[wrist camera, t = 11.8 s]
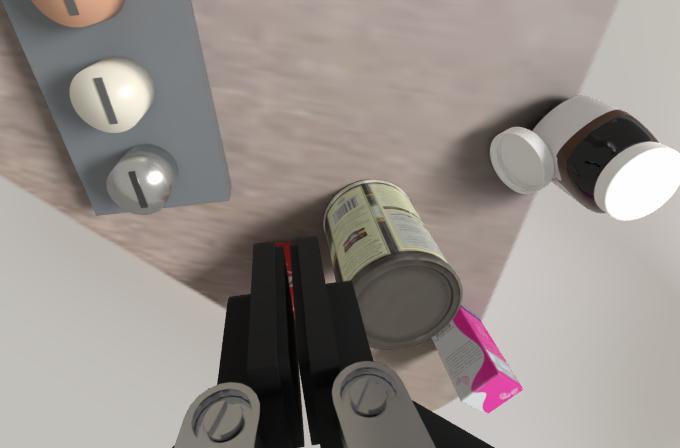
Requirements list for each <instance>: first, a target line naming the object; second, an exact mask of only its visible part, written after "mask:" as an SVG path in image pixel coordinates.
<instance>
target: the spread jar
mask: <svg viewBox="0 0 680 448" xmlns="http://www.w3.org/2000/svg"><path fill="white" fill-rule="evenodd" d="M490 158H491V162H492V165H493V167H494V170H495V171H496V173H497V175H498V176H499V178H500V179H501V180H502V181H503V182H504V183H505V184H506V185H507V186H508V187H509V188H511V189H512V190H514V191H516V192H518V193H521V194H533V193H536V192H537V191H539V190H540V189H542V188H543V187H545V186H547V185H548V184H549V183H550V182H551V181H552V182H553V183H554V184H555V185H557V186H558V187H559V188H560V189H562V190H563V191H564V192H566V193H567V194H568V195H569V196H571V197H572V198H574V199H575V200H576V201H577V202H579V203H580V204H581V205H583V206H584V207H586V208H587V209H589V210H591V211H593V212H596V213H607V214H608V215H609V216H611V217H613V218H614V219H618V220H621V221H628V220H635V219H638V218H642V217H644V216H646V215H648V214H650V213H652V212H653V211H655V210H657V209H658V208H659V207H661V206H662V205H663V204H664V203H665V202H666V201H667V200H668V199H669V198H670V197H671V196H672V195H673V193H674V192H675V191H676V189H677V188H678V186H679V184H680V153H678V152H677V151H676V150H674V149H672V148H670V147H667V146H665V145H663V144H660V143H659V142H658V141H657V139H656V138H655V137H654V136H653V134H652V133H651V132H650V131H649V130H648V129H647V128H645V127H644V125H642V124H641V123H640V122H639V121H638V120H637V119H635V118H634V117H633V116H631V115H629V114H628V113H627V112H625V111H623V110H621V109H618V108H616V107H614V106H612V105H609V104H607V103H604V102H602V101H599V100H597V99H594V98H591V97H588V96H581V95H580V96H575V97H572V98H570V99H567V100H565V101H563V102H562V103H560V104H558V105H557V106H555V107H554V108H552V109H551V110H550V111H548V112H547V113H546V114H545V115H544V116H543V117H542V118H541V119H540V120H539V121H538V122H537V123H536V124H535V126H534V127H533V129H532V130H531V131H530V130H528V129H526V128H522V127H512V128H509V129H507V130H506V131H504V132H502V133H500V134H499V135H497V136H496V137H495V138H494V139H493V141H492V143H491V146H490Z"/></svg>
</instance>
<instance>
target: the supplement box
mask: <svg viewBox="0 0 680 448" xmlns="http://www.w3.org/2000/svg"><path fill="white" fill-rule="evenodd" d="M432 340H433V342H434V344H435V347H436V349H437V351H438V353H439V355H440V357H441V359H442V362H443V364H444V366H445V368H446V370H447V372H448V374H449V377H450V379H451V381H452V383H453V385H454V387H455V389H456V392H457V394H458V396H459V398H460V400H461V401H462V402H464V403H466V404H468V405H471V406H472V407H474V408H476V409H478V410H480V411H481V412H483V413H485V414H488V413H490V412H491V411H493V410H494V409H495V408H497V407H498V406H500V405H501V404H503V403H504V402H506V401H507V400H508V399H510V398H511V397H513V396H514V395H516V394H517V393H519V392H520V391H522V390H523V388H522V386H521V385H520V383H519V381H518V380H517V378H516V377H515V375H514V373H513V372H512V370H511V369H510V367H509V365H508V364H507V362H506V360H505V359H504V357H503V356H502V355H501V353H500V351H499V349H498V348H497V346H496V344H495V343H494V341H493V340H492V338H491V337H490V335H489V333H488V332H487V330H486V328H485V327H484V325H483V324H482V322H481V320H479V319H478V318H476V317H475V316H474V315H472V314H471V313H470V312H468V311H467V310H466V309H464V308H463V307H461V306H460V308H459V310H458V312H457V314H456V315H455V317H454V318H453V320H452V321H451V322H450V323H449V324H448V325H447V326H446V327H445V328H444V329H443V330H442V331H441V332H439V333H438V334H437V335H435V336H433V337H432Z"/></svg>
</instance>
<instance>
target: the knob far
mask: <svg viewBox="0 0 680 448" xmlns="http://www.w3.org/2000/svg"><path fill="white" fill-rule="evenodd" d="M178 173H179V172H178V166H177V163H176V161H175V159H174V158H173V156H172V155H171V154H170V153H169V152H167V151H166V150H165V149H163V148H161V147H159V146H156V145H152V144H139V145H136V146H134V147H132V148H130V149H129V150H128V151H127V152H126V153H125V154H124V156H123V157H122V158H121V160H120V161H119V162H118V163H117V165H116V166H115V167H114V169H113V170H112V171H111V172H110V174H109V176H108V178H107V191H108V193H109V195H110V197H111V199H112V200H113V201H114V202H115V203H116V204H117V205H118V206H119V207H121V208H122V209H124V210H126V211H128V212H131V213H134V214H142V215H145V214H152V213H155V212H157V211H159V210H161V209H162V208H163V207H164V206H165V205H166V203H167V201H168V199H169V197H170V194H171V192H172V190H173V187H174V185H175V183H176V181H177V178H178Z"/></svg>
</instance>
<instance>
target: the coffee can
mask: <svg viewBox="0 0 680 448" xmlns="http://www.w3.org/2000/svg"><path fill="white" fill-rule="evenodd" d="M323 228H324V233H325V236H326V239H327V243H328V248H329V252H330V256H331V261H332V265H333V270H334V274H335V279H336V282H342V281H349V280H351V281H352V283H353V286H354V290H355V294H356V298H357V301H358V305H359V309H360V313H361V317H362V320H363V324H364V328H365V332H366V335H367V339H368V343H369V347H372V348H377V349H387V350H393V349H402V348H407V347H411V346H414V345H417V344H420V343H422V342H424V341H426V340H428V339H430V338H432V337H433V336H435V335H437V334H438V333H439V332H441V331H442V330H443V329H444V328H445V327H446V326H447V325H448V324H449V323H450V322H451V321H452V320H453V318H454V317H455V315H456V314H457V312H458V310H459V308H460V305H461V301H462V285H461V282H460V279H459V277H458V275H457V274H456V273H455V271H454V270H453V269H452V267H451V266H450V265H449V264H448V263H447V261H446V259H445V258H444V256H443V254H442V253H441V251H440V250H439V248H438V247H437V245H436V243H435V242H434V240H433V238H432V237H431V235H430V233H429V232H428V230H427V229H426V227H425V225H424V224H423V222H422V221H421V219H420V217H419V216H418V214H417V212H416V211H415V209H414V208H413V206H412V204H411V202H410V200H409V198H408V196H407V195H406V194H405V192H404V191H403V190H402V189H401V188H399V187H398V186H396V185H394V184H392V183H390V182H387V181H384V180H373V179H370V180H363V181H359V182H356V183H353V184H350V185H349V186H347V187H346V188H344V189H343V190H341V191H340V192H339V193H338V194H336V195H335V197H334V198H333V199H332V200H331V202H330V203H329V205H328V207H327V209H326V211H325V215H324V219H323Z"/></svg>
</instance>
